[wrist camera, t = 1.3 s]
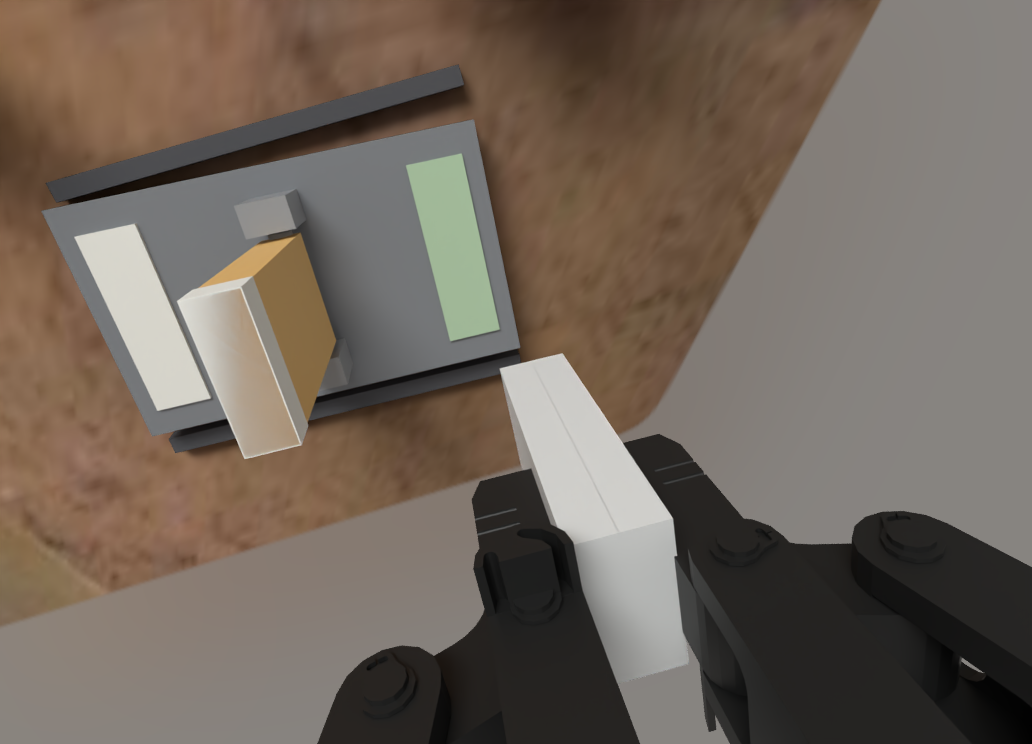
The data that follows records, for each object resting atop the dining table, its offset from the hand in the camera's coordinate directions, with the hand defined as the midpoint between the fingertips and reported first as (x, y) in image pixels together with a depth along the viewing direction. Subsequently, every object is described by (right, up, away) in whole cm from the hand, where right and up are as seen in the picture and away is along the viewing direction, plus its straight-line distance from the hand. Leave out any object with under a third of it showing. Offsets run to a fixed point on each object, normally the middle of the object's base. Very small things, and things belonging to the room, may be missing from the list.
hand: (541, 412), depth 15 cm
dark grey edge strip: (-11, -1, +24) cm, 27 cm away
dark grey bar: (-14, +14, +18) cm, 27 cm away
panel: (-13, +7, +21) cm, 26 cm away
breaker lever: (-12, +5, +18) cm, 22 cm away
